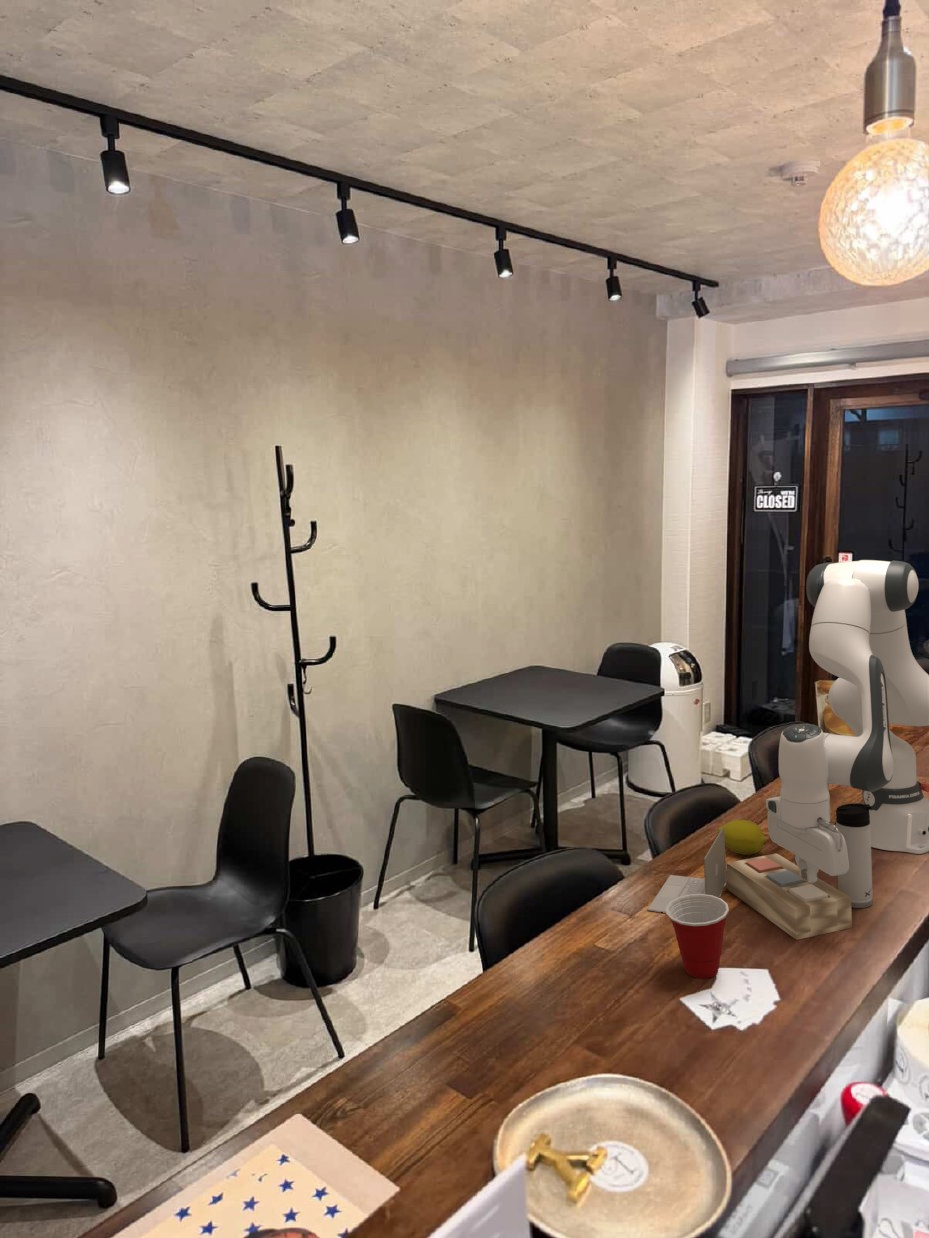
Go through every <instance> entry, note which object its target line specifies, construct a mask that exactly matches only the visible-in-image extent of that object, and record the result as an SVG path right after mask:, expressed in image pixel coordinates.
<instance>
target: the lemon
mask: <svg viewBox="0 0 929 1238" xmlns="http://www.w3.org/2000/svg"><path fill="white" fill-rule="evenodd" d="M723 827H724V840H725V847H727V848H728V849H729V850H731V851H732V852H734V853H737V854H740V855H743V856H749V855H750V856H751V855H754V854H758V853H760V852H761V850H762V849H763V848H764V847H763V846H764V844H766V841H767V840H766V838H765V836H764V832H763V830H762V828H761V826H759V824H756V823H755V822H753V821H751V820H747V819H734V820H731V821H729V822H727V823H725V824H723V825H721V826H719V828H718V829H717V833H718V834H719V833H720V831H721V829H722V828H723ZM718 834H717V835H718Z"/></svg>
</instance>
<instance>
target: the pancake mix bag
mask: <svg viewBox="0 0 929 1238" xmlns="http://www.w3.org/2000/svg"><path fill="white" fill-rule="evenodd" d="M834 682H835V680H833V679H832V680H830V679H826V680H825V679H824V680H823V679H818V681H814V687H815V688H814V689H815V700H816V713H817V723H818V724H817V726H818V727H820V728H821V729H822V731H823V733H831V734H835V735H844V736H854V737H856V736H855V734H854V732H853V731H852V730H851V728H850V727H849V726H848V725H847V724H846V723H845V722H844V721H843V720H842V719H840V718H839V717H837V716H836V715H835V714H834V712H833V711H832V709H831V707H830V705H829V700H828V695H829V690H830V688H831V686H832V684H833V683H834Z"/></svg>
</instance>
